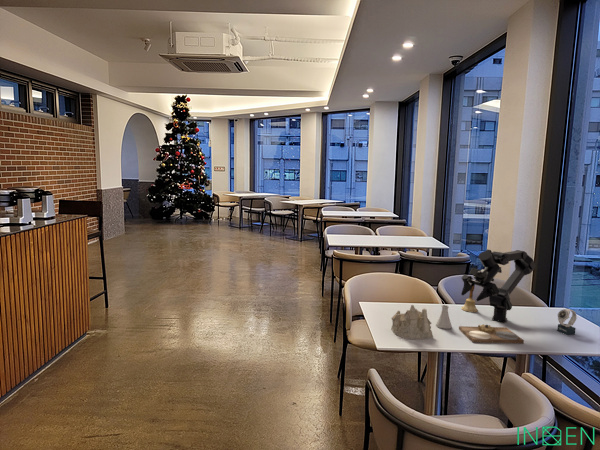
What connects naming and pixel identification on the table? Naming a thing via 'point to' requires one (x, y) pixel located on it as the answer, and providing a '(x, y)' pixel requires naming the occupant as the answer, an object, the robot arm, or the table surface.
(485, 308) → the table surface
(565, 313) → the watch
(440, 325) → the flask
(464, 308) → the hand bell
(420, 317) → the ceramic cottage
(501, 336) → the gear board
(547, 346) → the table surface
